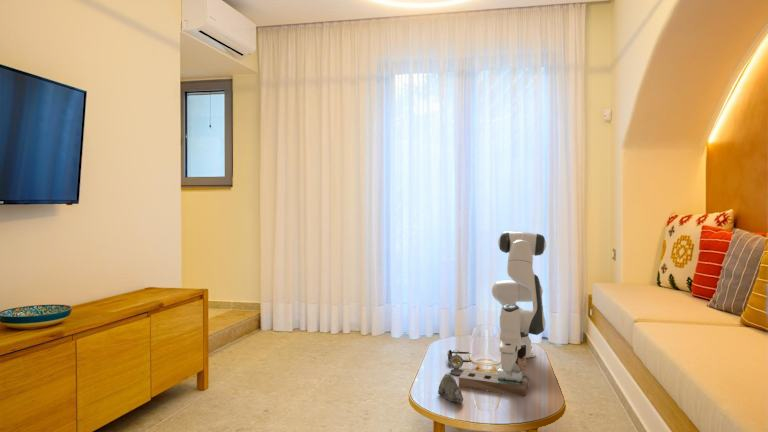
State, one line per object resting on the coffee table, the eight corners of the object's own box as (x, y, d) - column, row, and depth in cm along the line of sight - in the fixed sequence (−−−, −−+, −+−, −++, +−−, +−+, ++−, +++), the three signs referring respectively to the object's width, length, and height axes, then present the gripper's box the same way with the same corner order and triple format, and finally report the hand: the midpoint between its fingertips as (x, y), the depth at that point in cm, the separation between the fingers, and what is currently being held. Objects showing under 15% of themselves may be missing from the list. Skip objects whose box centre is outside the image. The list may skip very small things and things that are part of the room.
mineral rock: (462, 407, 194) (463, 382, 193) (435, 405, 196) (435, 380, 195) (464, 394, 206) (464, 371, 206) (438, 392, 208) (438, 369, 208)
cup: (518, 379, 224) (519, 346, 224) (507, 374, 230) (507, 342, 229) (528, 376, 228) (529, 343, 227) (517, 371, 234) (517, 340, 233)
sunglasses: (478, 368, 239) (478, 358, 239) (447, 367, 241) (447, 357, 241) (477, 359, 253) (477, 349, 253) (447, 358, 255) (447, 348, 255)
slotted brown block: (464, 378, 224) (464, 369, 224) (528, 387, 214) (528, 378, 213) (458, 386, 215) (458, 376, 215) (525, 396, 204) (525, 386, 204)
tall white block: (498, 386, 215) (498, 368, 215) (522, 390, 211) (522, 371, 211) (497, 389, 212) (497, 370, 212) (521, 392, 208) (521, 373, 208)
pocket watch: (457, 376, 227) (457, 355, 227) (444, 371, 234) (444, 350, 233) (470, 373, 232) (470, 352, 231) (457, 368, 238) (457, 347, 238)
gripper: (506, 336, 222) (506, 366, 222) (498, 349, 203) (498, 382, 204) (521, 337, 219) (520, 368, 220) (514, 350, 201) (514, 384, 201)
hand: (509, 375), depth 212 cm, fingers open, 4 cm apart
